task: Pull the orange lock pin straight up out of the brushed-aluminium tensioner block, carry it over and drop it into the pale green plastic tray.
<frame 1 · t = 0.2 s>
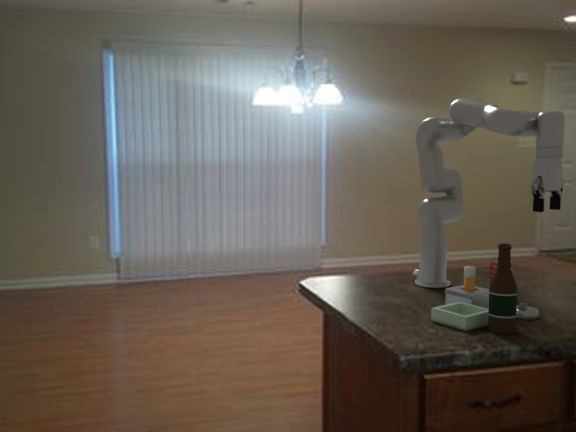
hand: (546, 210, 193), 31 cm above the countertop, tool pointing down, fingers open, 9 cm apart
beer bottle: (501, 331, 177), on the countertop
soda can: (500, 301, 210), on the countertop
tray: (462, 322, 185), on the countertop
lock pin: (469, 287, 200), in the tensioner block
metal pot lid: (522, 315, 192), on the countertop
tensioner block: (468, 308, 200), on the countertop
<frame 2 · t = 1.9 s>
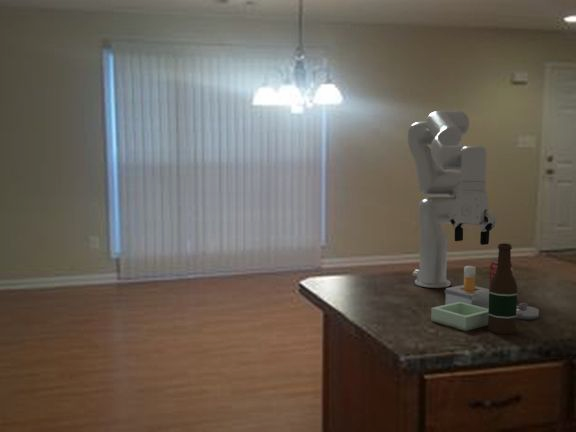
hand: (471, 242, 197), 21 cm above the countertop, tool pointing down, fingers open, 9 cm apart
nothing on the countertop moved.
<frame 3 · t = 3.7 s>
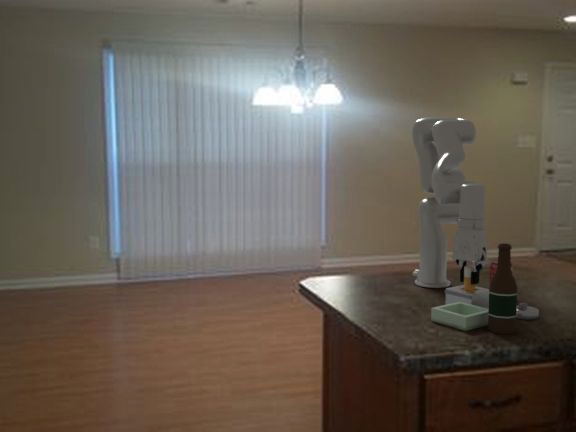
hand: (469, 282, 199), 8 cm above the countertop, tool pointing down, fingers closed on lock pin, 3 cm apart
lock pin: (469, 287, 200), in the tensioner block, touching gripper
everything else where it was.
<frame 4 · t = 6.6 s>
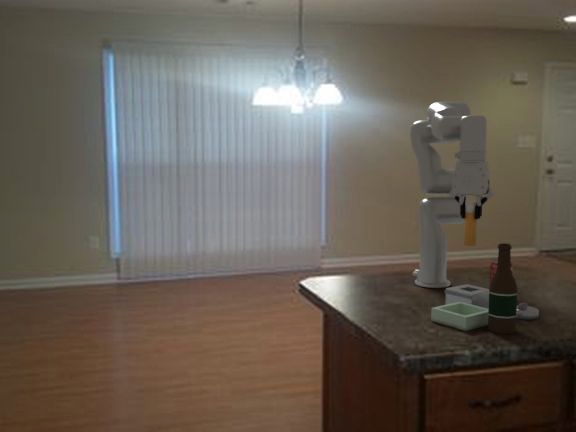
hand: (470, 217, 194), 29 cm above the countertop, tool pointing down, fingers closed on lock pin, 3 cm apart
lock pin: (470, 223, 194), point 27 cm above the countertop, touching gripper
everything else where it was.
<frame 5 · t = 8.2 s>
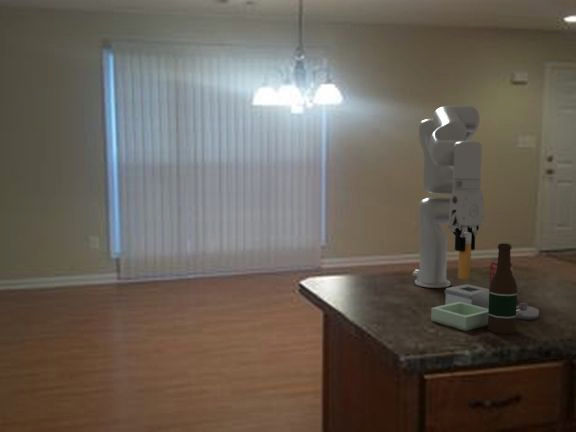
hand: (464, 249, 182), 21 cm above the countertop, tool pointing down, fingers closed on lock pin, 3 cm apart
lock pin: (464, 255, 182), point 20 cm above the countertop, touching gripper
everything else where it was.
when the fingers open (11 cm above the countertop, at t = 9.5 s): lock pin drops 2 cm, resting on tray.
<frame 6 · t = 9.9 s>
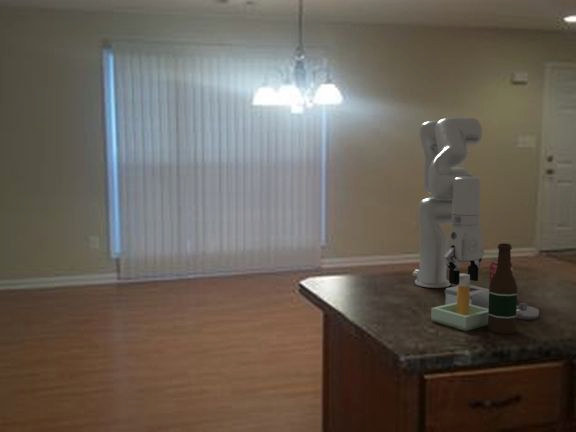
hand: (463, 281, 184), 12 cm above the countertop, tool pointing down, fingers open, 7 cm apart
lock pin: (463, 297, 184), in the tray, point 7 cm above the countertop
everything else where it was.
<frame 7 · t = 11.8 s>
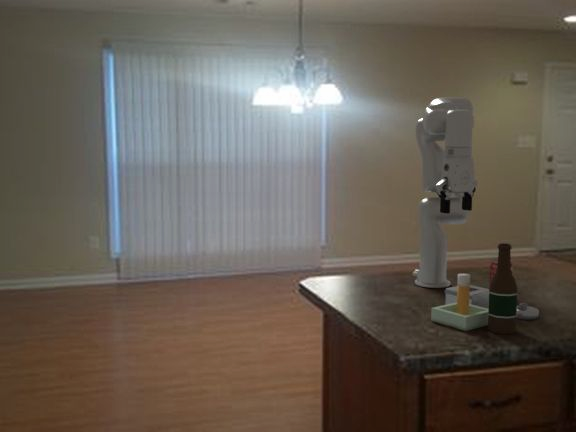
hand: (455, 211, 189), 31 cm above the countertop, tool pointing down, fingers open, 9 cm apart
nothing on the countertop moved.
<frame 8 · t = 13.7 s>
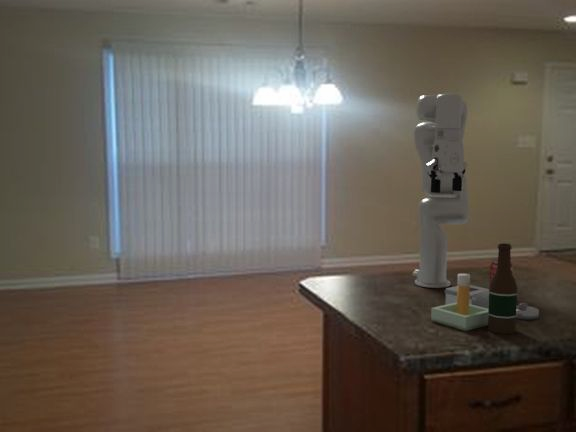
hand: (446, 191, 197), 36 cm above the countertop, tool pointing down, fingers open, 9 cm apart
nothing on the countertop moved.
at the end: lock pin inside the target area on the tray (0.1 cm from its centre), point 7.3 cm above the tray's base; the gripper is holding nothing; lock pin touching tray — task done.
